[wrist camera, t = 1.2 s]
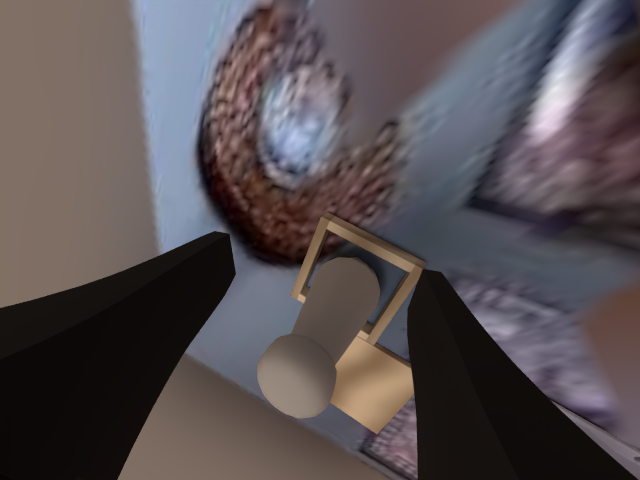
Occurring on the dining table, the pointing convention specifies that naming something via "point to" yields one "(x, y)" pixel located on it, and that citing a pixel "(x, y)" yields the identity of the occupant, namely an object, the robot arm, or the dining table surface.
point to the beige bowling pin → (319, 338)
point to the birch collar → (371, 245)
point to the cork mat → (371, 384)
